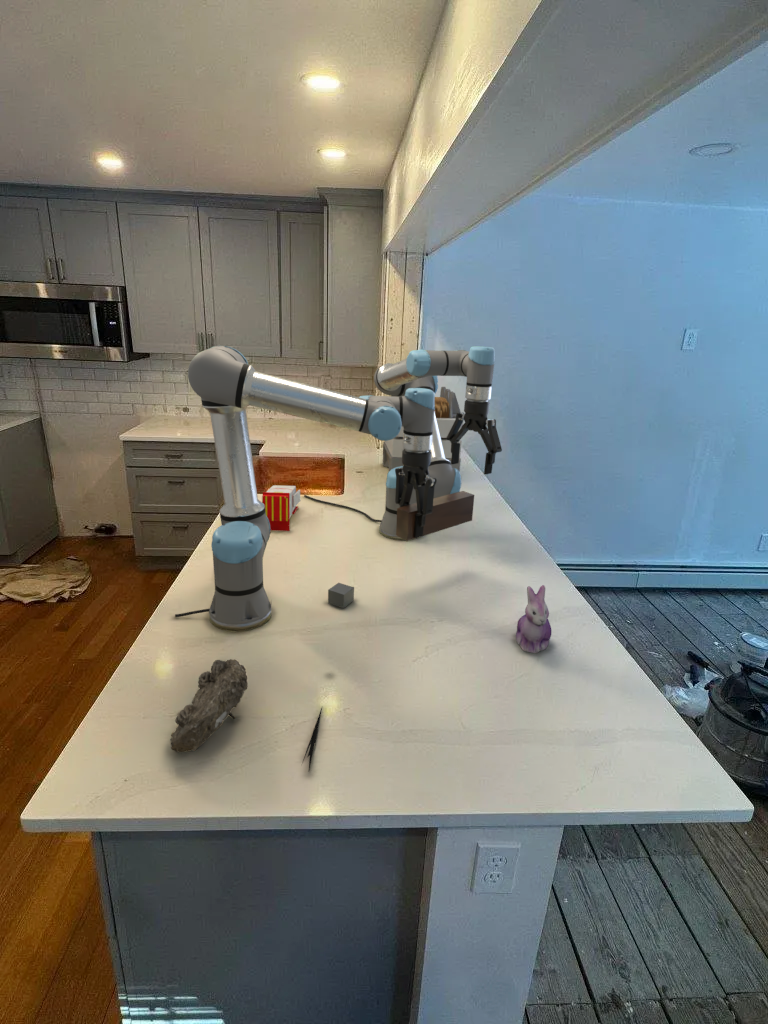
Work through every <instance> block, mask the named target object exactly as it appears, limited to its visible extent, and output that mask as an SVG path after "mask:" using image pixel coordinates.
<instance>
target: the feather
mask: <svg viewBox="0 0 768 1024" xmlns="http://www.w3.org/2000/svg"><path fill="white" fill-rule="evenodd" d="M329 675H330V676H331V675H332V674H331V673H330V674H329ZM322 710H323V707H321V708H320V710H319V713H318V716H317V719H316V723H315V725H314V728H313V731H312V733H311V737H310V739H309V742H308V745H307V748H306V751H305V754H304V757H303V760H302V763H301V767H302V765H303V763H304V761H305V758H308V759H309V760H308V762H307V763H308V764H307V766H308V771H310V770H311V766H312V765H311V764H312V760H313V757H315V756H314V755H315V751H316V749H315V746H317V739H318V733H319V729H320V722H321V717H322V712H323V711H322ZM313 754H314V755H313ZM306 755H307V757H306Z"/></svg>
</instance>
